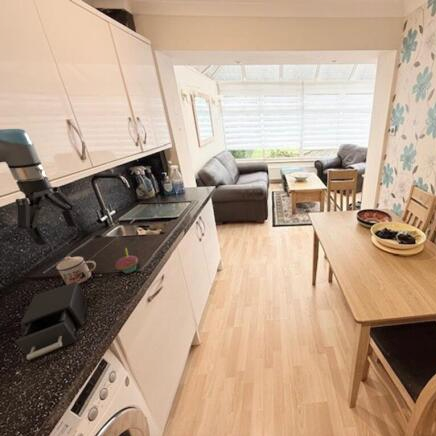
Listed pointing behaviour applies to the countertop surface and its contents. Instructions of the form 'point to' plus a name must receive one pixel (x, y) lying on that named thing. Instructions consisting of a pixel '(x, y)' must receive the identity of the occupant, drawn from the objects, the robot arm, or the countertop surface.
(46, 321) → the drawer
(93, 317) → the countertop surface
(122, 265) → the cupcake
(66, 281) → the teacup with lid
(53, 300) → the cabinet
